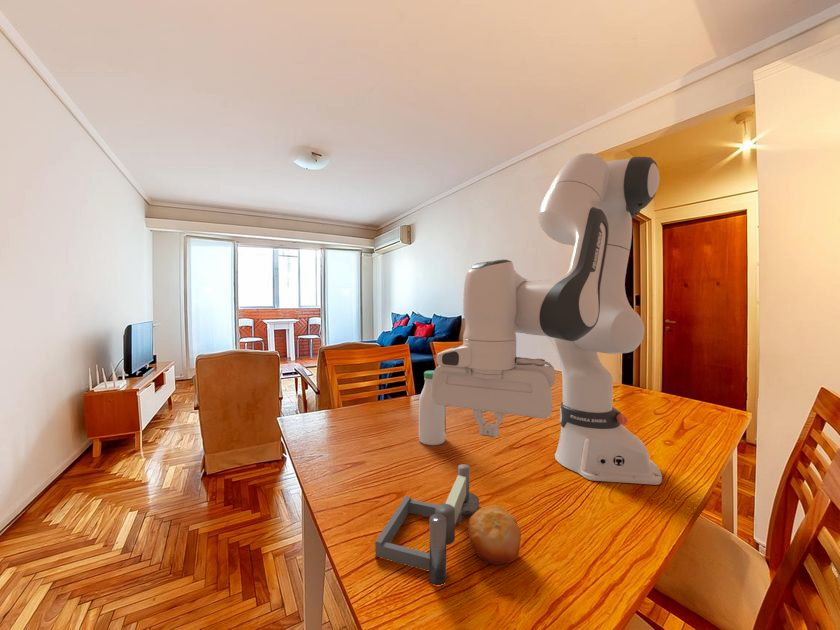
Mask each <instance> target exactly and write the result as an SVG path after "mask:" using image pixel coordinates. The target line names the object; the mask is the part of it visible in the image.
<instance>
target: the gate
mask: <svg viewBox="0 0 840 630" xmlns="http://www.w3.org/2000/svg"><path fill="white" fill-rule="evenodd" d="M469 492H470V465H468V464H465V463H463V464H459V465H458V466H457V476H456V479H455V481H454V483H453V485H452V487H451V489H450V492H449V494H448V496H447V498H446V501H445V503H440V504H437V505H438V506H437V507H436V508H435V514H441V515H444V516H445V517H446V546H447V545H452V544H453V543H454V542H455V539H456V524H457V523H456V521H457V519H458V516H459V513H460V510H461V508H462V505H463V502H466V501H468V500H469Z"/></svg>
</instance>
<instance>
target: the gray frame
mask: <svg viewBox="0 0 840 630" xmlns="http://www.w3.org/2000/svg"><path fill="white" fill-rule="evenodd" d="M438 505H439V504H435V503H430V502H425V501H421V500H420V501H419V500H415V499H412V498H411V496H409V495H408V496H407V495H405V496H404V498H403V499H402V501H401V502H400V504H399V506H398V507H397V509H396V510H395V511H394V513H393V515H392V516H391V517H390V519H389V520H388V522H387V523H386V525H385V526H384V528H383V529H382V531H381V532H380V534H379V535H378V537H377V538H376V540H375V549H374V550H375V557H376V556H378V557H382V558H385V559H389V560H392V561H391V562H393V561H395V562H394V563H396V562H398V563H397V564H400V563H402V564H401V565H403V564H406V565H405V566H407V565H409V566H408V567H411V566H413V567H412V568H414V567H417V568H416V569H418V568H422V569H425V570H429V571H430V552H426V551H421V550H418V549H414V548H410V547H406V546H403V545H397V544H395V543H392V541H393V539H394V538H395V536H396V535H397V533H398V531H399V530H400V528H401V527H402V525H403V523H404V521H405V520H406V519H407V516H408V515H409V514H413V515H414V514H415V515H418V516H419V515H420V516H423V517H427V518H430V517H431V516H432V515H434V514H435V508H436V507H437V506H438ZM462 518H463V517H462V510H460V513H459V516H458V519H457V521H456V524H460V525H461V524H462V520H463V519H462ZM378 557H377V558H378ZM382 558H381V559H382ZM385 559H384V560H385ZM389 560H388V561H389ZM422 569H421V570H422ZM425 570H424V571H425ZM429 571H428V572H429Z"/></svg>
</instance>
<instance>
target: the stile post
mask: <svg viewBox="0 0 840 630" xmlns="http://www.w3.org/2000/svg"><path fill="white" fill-rule="evenodd" d="M429 553H430V572H429V582H431V583H432V584H435V585H441V584H444V583H445V582H446V583H447V545H446V517H445V516H444V515H441V514H434V515H432V516H431V517H429ZM431 583H430V584H431ZM446 583H445V584H446ZM432 584H431V585H432Z"/></svg>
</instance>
